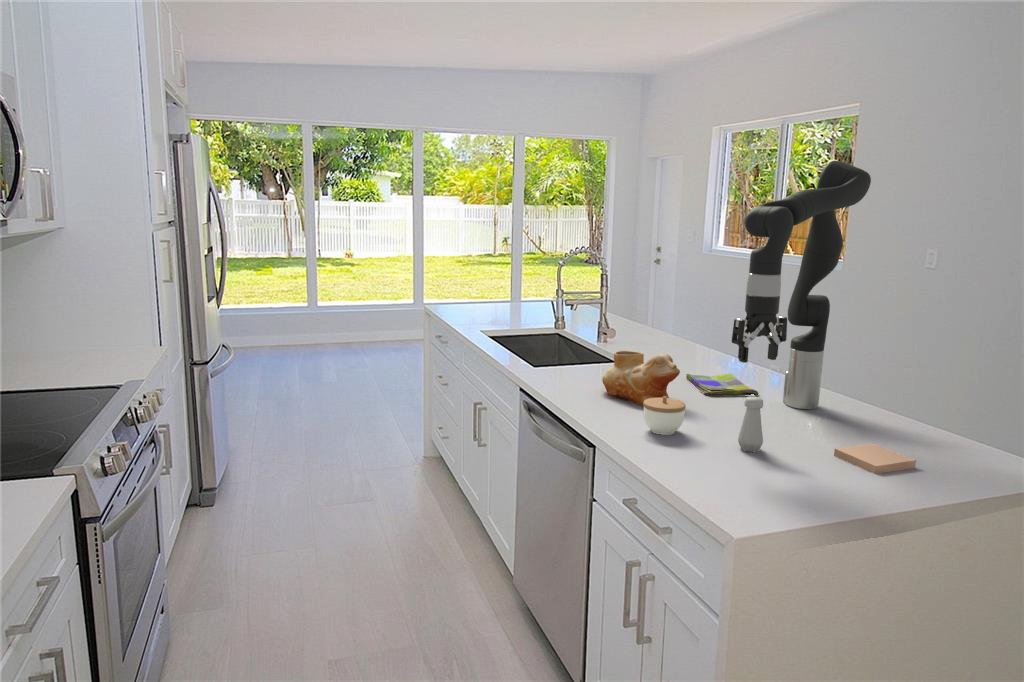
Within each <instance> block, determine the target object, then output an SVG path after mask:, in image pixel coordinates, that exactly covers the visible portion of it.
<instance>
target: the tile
mask: <svg viewBox="0 0 1024 682" xmlns="http://www.w3.org/2000/svg"><path fill="white" fill-rule="evenodd" d="M833 456H834V457H837V458H838V457H839V458H838V459H840V458H841V460H842V459H843V461H844V462H847V461H848V462H847V463H849V462H850V464H852V465H854V466H855V467H856V466H857V467H859V468H861V469H863V470H865V471H868V472H870V473H873V474H882V473H888V472H896V471H902V470H909V469H916V464H917V459H914V458H912V457H909V456H906V455H904V454H902V453H900V452H899V453H898V452H896V451H893V450H892V449H890V448H887V447H884V446H881V445H879V444H876V443H867V444H859V445H852V446H843V447H837V448H835V447H834V452H833Z"/></svg>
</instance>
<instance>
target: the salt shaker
mask: <svg viewBox="0 0 1024 682" xmlns="http://www.w3.org/2000/svg"><path fill="white" fill-rule="evenodd" d="M744 407H746V410H745V413H744V416H743V420H742V424H741V426H740V431H739V434H738V438H737V441H738V445H739V447H740V449H741V450H742V449H743V450H742V451H744V450H745V451H744V452H748V451H752V452H751V453H755V452H754V451H757V452H759V451H760V450H761V447H762V446H763V444H764V435H763V427H762V414H761V409H763V407H764V399H762V398H761V397H759V396H746V398H745V399H744ZM758 450H759V451H758Z"/></svg>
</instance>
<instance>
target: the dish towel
mask: <svg viewBox="0 0 1024 682" xmlns="http://www.w3.org/2000/svg"><path fill="white" fill-rule="evenodd" d="M685 375H686V376H685V377H686V379H687V380H689V381H690V382H691V383H692V384H693V385H694V386H695V387H696V388H697V389H698V392H699V393H701V394H702V393H703V395H705V396H715V395H751V394H754V395H758V396H759V392H758V390H756V389H754V388H751V387H749V386H747V385H746V384H745V383H743V382H742V381H741V380H739V379H738V378H737V377H735V376H734V375H733V374H732V373H724V374H720V375H712V376H709V375H699V374H698V375H697V374H691V373H687V374H685ZM689 381H688V382H689ZM726 381H727V382H726ZM690 382H689V383H690ZM691 383H690V384H691ZM692 384H691V385H692ZM693 385H692V386H693ZM694 386H693V387H694ZM695 387H694V388H695ZM696 388H695V389H696ZM697 389H696V390H697Z"/></svg>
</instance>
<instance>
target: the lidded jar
mask: <svg viewBox="0 0 1024 682" xmlns="http://www.w3.org/2000/svg"><path fill="white" fill-rule="evenodd" d="M643 405H644V406H643V419H644V422H645V424H646V426H647V427H648V428H649V430H650V432H651V433H653V434H655V433H656V435H659V434H661V435H662V436H670V435H674V434H675V432H676V431H678V430H679V429H680V428H681V426H682V425H683V422H684V419H685V418H684V417H685V415H686V413H685V412H686V403H685V402H684V401H681V400H679V399H675V398H670V397H669V398H667V397H666V396H663V398H649V399H646V400H645V401H644V402H643ZM661 435H660V436H661Z"/></svg>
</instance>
